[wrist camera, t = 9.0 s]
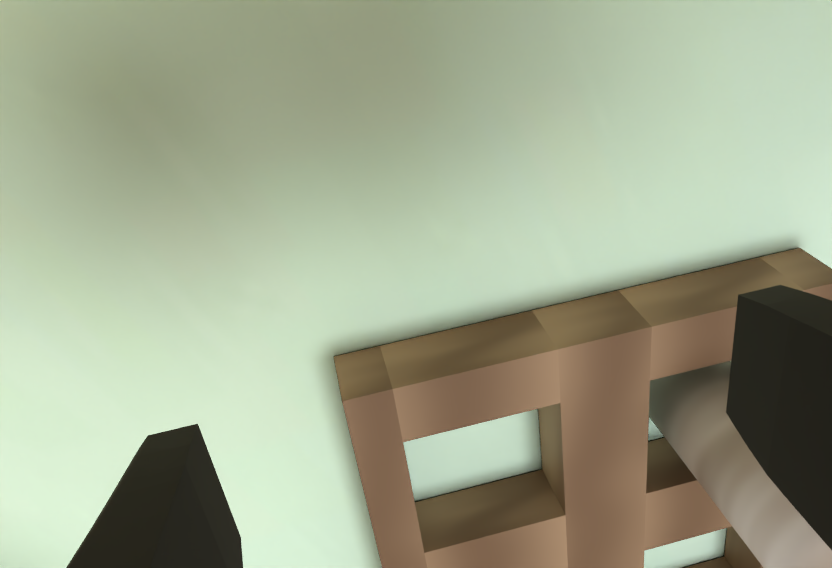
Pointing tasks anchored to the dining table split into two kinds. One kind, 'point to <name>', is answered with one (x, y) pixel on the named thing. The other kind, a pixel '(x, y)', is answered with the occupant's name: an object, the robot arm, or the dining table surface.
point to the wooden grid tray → (583, 431)
